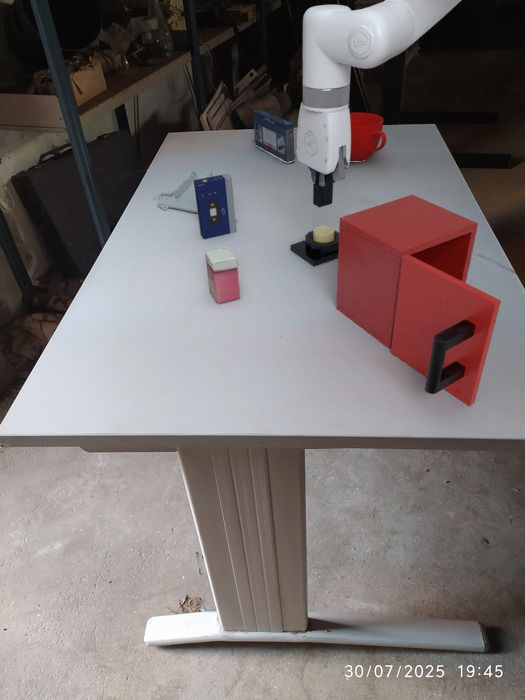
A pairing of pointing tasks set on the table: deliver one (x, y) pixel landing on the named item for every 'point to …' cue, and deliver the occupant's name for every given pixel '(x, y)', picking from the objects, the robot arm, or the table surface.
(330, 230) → the yellow button cap
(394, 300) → the cabinet
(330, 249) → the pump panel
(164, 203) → the metal bracket
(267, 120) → the vhs cassette tape
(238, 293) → the small box
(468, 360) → the door
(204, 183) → the cassette player
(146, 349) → the table surface
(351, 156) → the ceramic cup
